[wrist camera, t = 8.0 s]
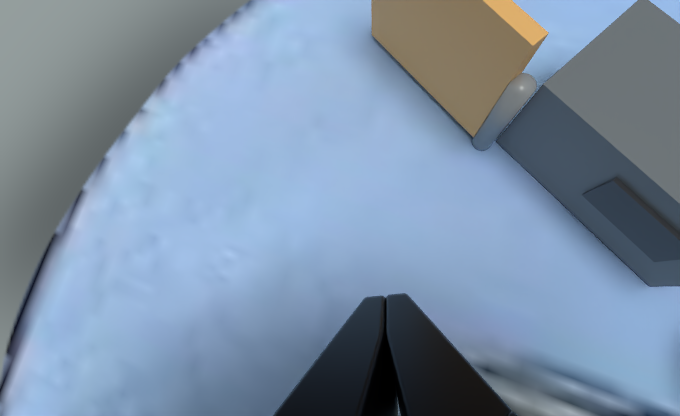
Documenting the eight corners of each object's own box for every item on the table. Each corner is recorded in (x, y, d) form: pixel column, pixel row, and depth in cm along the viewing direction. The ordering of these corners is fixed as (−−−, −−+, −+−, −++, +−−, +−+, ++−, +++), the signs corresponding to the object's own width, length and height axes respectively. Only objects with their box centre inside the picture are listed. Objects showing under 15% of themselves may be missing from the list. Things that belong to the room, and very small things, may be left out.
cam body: (646, 289, 19) (792, 288, 12) (493, 143, 21) (548, 76, 15) (727, 211, 20) (910, 170, 13) (569, 76, 22) (657, -20, 15)
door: (495, 142, 21) (572, 48, 13) (481, 154, 21) (549, 67, 13) (382, 30, 23) (388, -114, 15) (369, 40, 23) (367, -99, 15)
